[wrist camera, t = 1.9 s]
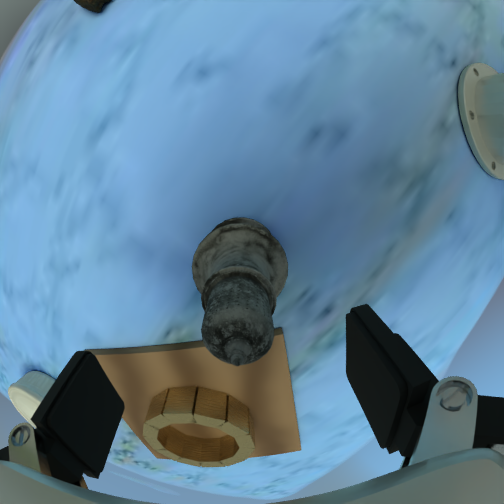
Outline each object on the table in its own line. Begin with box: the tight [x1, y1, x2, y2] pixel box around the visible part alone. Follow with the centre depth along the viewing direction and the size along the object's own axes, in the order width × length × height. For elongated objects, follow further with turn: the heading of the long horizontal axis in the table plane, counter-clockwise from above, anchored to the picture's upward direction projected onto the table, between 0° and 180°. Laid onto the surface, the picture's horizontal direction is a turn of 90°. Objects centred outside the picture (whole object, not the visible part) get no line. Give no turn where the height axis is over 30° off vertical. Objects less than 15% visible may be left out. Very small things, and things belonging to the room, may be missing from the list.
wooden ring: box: [143, 386, 255, 467], centre depth 23 cm, size 11×11×4 cm
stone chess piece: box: [192, 218, 288, 366], centre depth 14 cm, size 6×6×12 cm
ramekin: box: [8, 371, 55, 428], centre depth 23 cm, size 11×11×5 cm
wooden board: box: [84, 328, 301, 459], centre depth 25 cm, size 20×20×1 cm
